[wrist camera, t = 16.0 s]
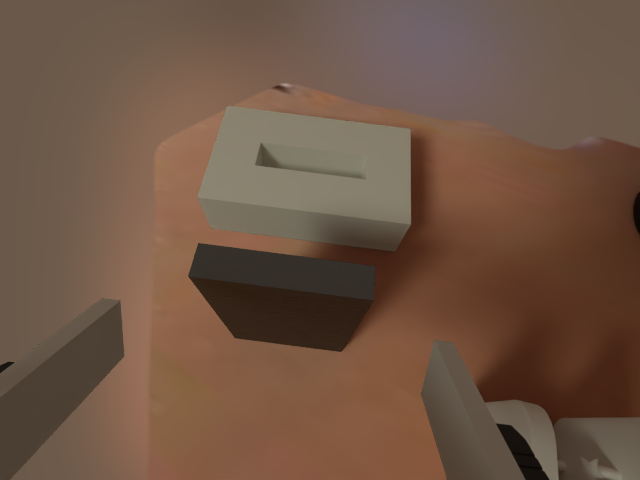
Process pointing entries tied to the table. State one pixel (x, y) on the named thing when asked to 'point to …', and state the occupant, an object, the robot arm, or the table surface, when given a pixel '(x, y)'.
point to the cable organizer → (575, 442)
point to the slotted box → (309, 179)
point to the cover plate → (284, 295)
